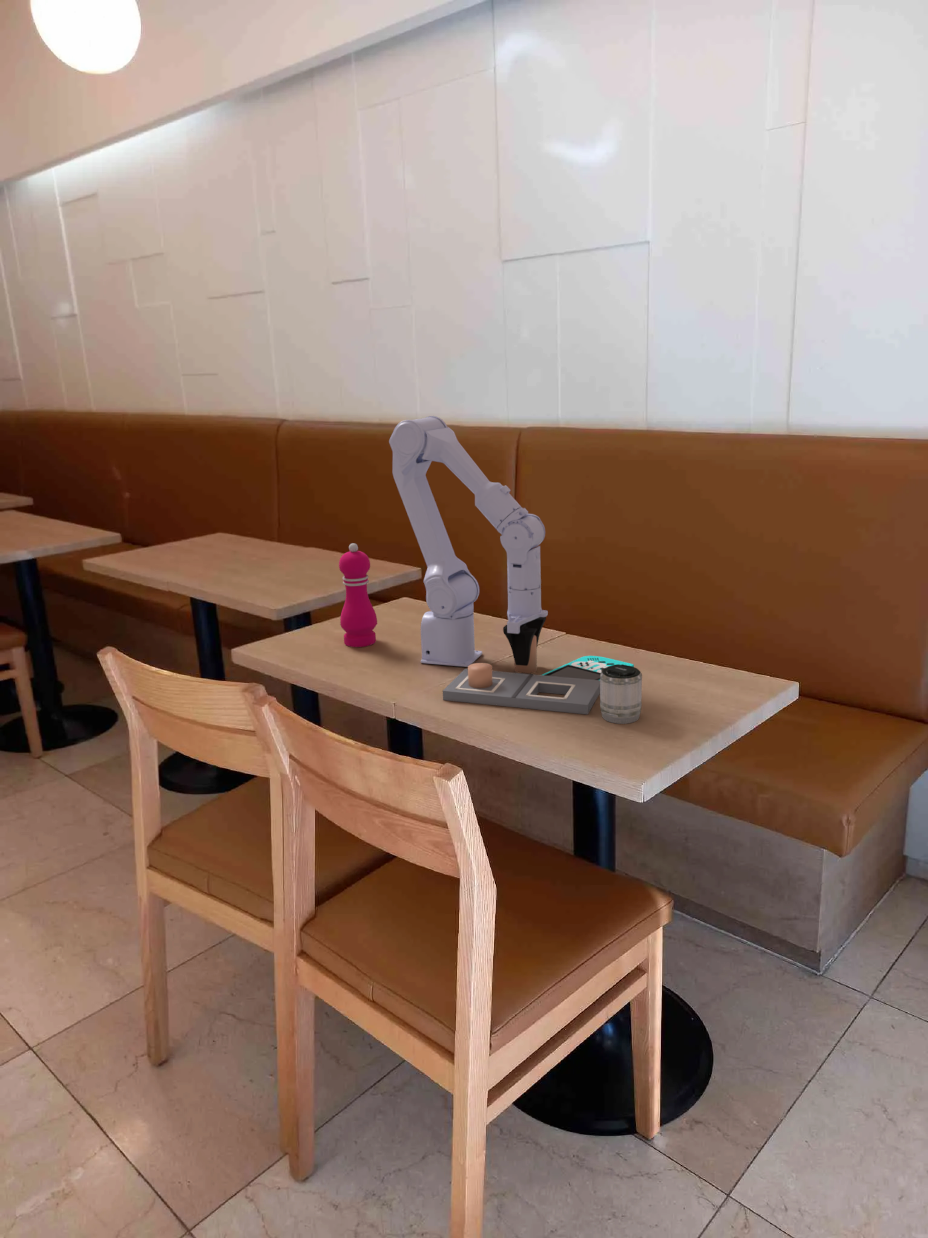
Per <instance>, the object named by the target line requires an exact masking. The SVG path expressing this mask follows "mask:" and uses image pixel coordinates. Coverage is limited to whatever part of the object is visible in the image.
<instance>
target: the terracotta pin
mask: <svg viewBox="0 0 928 1238" xmlns="http://www.w3.org/2000/svg"><path fill="white" fill-rule="evenodd" d="M537 651H538V645H537V637H536V636H535V635H534V637H533V640H532V644H531V650H530V658H529V663H528V665H527V666H523V665H516V663H515V660H514V659H513V662H514V663H513V664H514V666H513V668H514V669H513V670H514V671H515V673H522V674H533V673H535V672H536V671H537V670H538V652H537Z"/></svg>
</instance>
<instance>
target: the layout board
mask: <svg viewBox="0 0 928 1238" xmlns="http://www.w3.org/2000/svg"><path fill="white" fill-rule="evenodd" d="M539 693H544V694H553V695H554V694H557V695H564V696H563V697H559V696H549V695H548V696H547V695H538V694H539ZM598 697H600V680H590V679H579V678H567V677H556V676H545V675H542V674H534V673H519V672H508V671H499V670H498V671H497V670H493V665H492V664H490V663H487V662H476V663H475V662H473V663H472V664H471V665H469V666H468V667H467V668H464V669H463V670H462V671H461V672H460V673H459V674H458V675H457V676H456V677H455V678H454V679H453V680H452V681H451V682H450V683H449V684H448V685H447V686H446V687H445V688H444V689H442V700H443V701H449V702H451V701H452V702H459V703H471V704H479V705H489V706H490V705H491V706H501V707H512V708H517V709H518V708H520V709H531V710H539V711H550V712H558V713H568V714H569V713H570V714H577V715H578V714H579V715H588V714H589V713H590V711H591V709H592V708H593V706H594V705H595V703H596V702H597V701H596V700H597V699H598Z"/></svg>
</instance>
